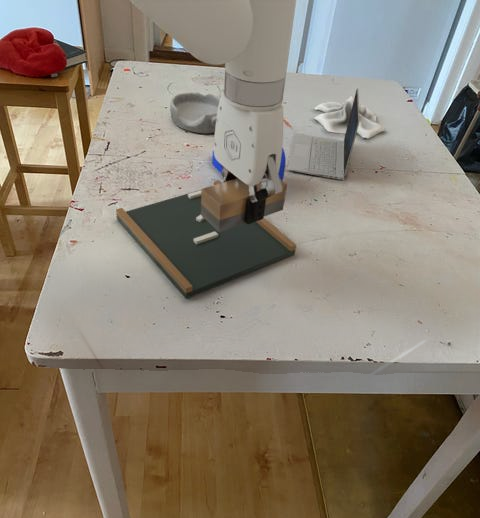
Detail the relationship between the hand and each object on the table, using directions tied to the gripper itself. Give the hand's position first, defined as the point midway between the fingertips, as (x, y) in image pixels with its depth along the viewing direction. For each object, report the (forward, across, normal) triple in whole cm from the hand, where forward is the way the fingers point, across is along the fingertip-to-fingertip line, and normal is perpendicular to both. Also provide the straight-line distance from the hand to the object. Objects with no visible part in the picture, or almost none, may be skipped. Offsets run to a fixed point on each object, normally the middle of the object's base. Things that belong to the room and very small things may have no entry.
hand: (242, 210), depth 72 cm
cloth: (+11, -34, +60) cm, 70 cm away
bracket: (+11, -24, +18) cm, 32 cm away
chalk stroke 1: (+9, -13, +2) cm, 16 cm away
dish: (+11, -49, +23) cm, 55 cm away
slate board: (+10, -9, -1) cm, 14 cm away
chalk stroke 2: (+9, -7, -2) cm, 12 cm away
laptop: (+11, -22, +38) cm, 45 cm away
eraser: (0, 0, 0) cm, 0 cm away
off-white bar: (+9, -19, +4) cm, 22 cm away
